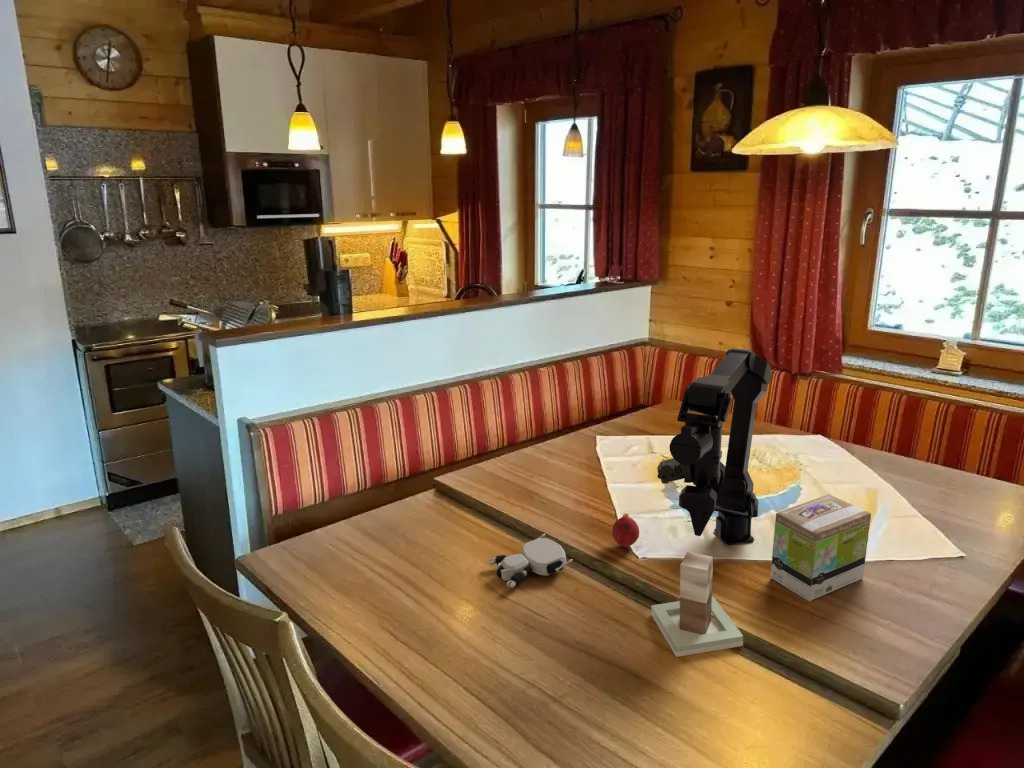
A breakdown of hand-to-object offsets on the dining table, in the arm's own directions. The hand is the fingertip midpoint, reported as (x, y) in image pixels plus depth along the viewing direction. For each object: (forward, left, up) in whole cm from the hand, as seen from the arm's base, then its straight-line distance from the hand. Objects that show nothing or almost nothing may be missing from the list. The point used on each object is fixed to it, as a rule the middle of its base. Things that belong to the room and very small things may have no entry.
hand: (701, 525), depth 135 cm
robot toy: (+32, -13, -13) cm, 37 cm away
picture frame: (+7, +13, -13) cm, 20 cm away
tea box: (-22, +4, -13) cm, 26 cm away
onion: (+10, -17, -13) cm, 23 cm away
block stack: (+7, +13, -12) cm, 19 cm away
